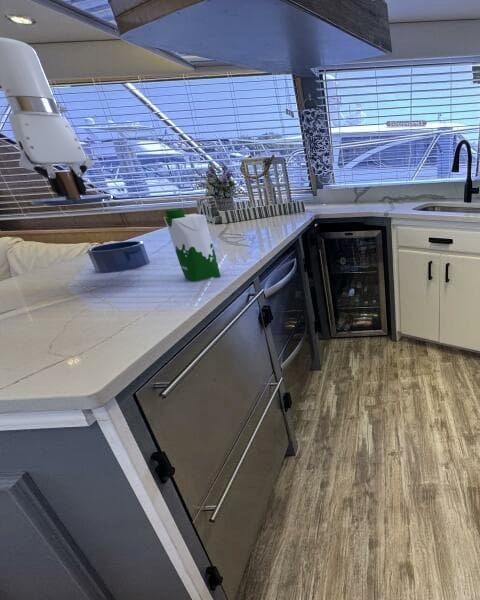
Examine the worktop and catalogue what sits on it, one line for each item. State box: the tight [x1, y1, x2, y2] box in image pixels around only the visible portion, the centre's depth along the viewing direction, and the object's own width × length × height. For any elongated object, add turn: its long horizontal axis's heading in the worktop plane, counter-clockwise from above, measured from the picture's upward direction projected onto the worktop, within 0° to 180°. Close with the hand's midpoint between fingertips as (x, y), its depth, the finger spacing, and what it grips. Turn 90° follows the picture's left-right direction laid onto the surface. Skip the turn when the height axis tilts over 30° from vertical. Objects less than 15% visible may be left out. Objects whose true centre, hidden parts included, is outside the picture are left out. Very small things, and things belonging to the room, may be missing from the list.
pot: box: [86, 240, 151, 274], centre depth 103 cm, size 14×19×8 cm
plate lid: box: [30, 171, 113, 207], centre depth 78 cm, size 15×15×7 cm
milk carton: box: [163, 208, 221, 283], centre depth 91 cm, size 9×9×20 cm
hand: (71, 194), depth 79 cm, fingers closed on plate lid, 3 cm apart
